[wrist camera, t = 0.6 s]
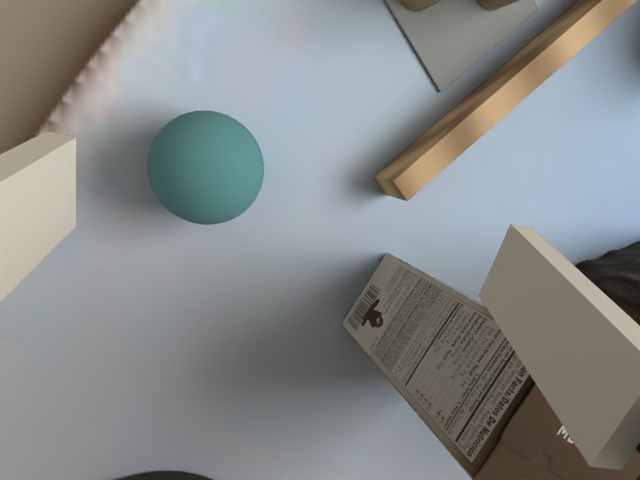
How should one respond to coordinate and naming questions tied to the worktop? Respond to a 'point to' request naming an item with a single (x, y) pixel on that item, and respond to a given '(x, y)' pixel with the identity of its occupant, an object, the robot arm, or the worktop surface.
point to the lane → (497, 96)
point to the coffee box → (465, 379)
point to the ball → (205, 167)
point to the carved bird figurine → (618, 277)
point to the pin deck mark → (457, 33)
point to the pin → (494, 4)
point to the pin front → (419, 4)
